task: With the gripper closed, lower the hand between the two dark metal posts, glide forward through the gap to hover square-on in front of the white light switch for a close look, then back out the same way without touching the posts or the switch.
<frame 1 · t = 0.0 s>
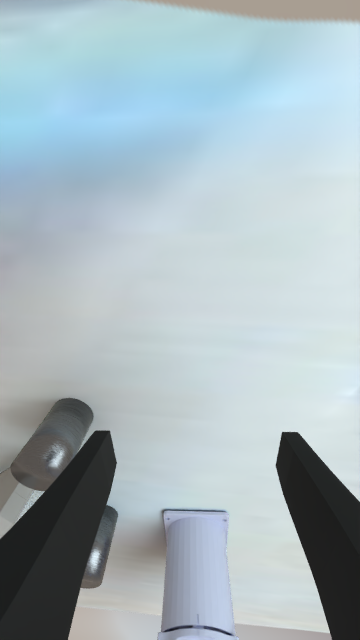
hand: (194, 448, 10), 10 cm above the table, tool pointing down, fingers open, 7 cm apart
post 2: (102, 513, 30), on the table
light switch: (15, 466, 27), on the table
post 1: (73, 413, 23), on the table
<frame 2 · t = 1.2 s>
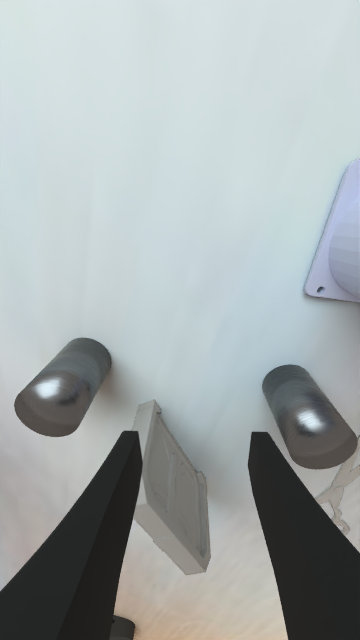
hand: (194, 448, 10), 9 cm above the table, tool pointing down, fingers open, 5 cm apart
post 2: (286, 384, 20), on the table
light switch: (175, 442, 24), on the table
post 1: (87, 358, 20), on the table
scissors: (332, 484, 26), on the table
media streaming box: (92, 620, 44), on the table
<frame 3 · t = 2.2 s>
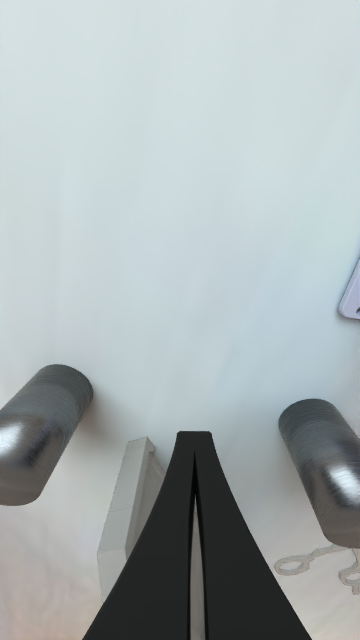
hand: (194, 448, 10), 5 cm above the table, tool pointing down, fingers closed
post 2: (308, 421, 16), on the table
light switch: (171, 482, 20), on the table
post 1: (63, 388, 16), on the table
scissors: (355, 528, 22), on the table
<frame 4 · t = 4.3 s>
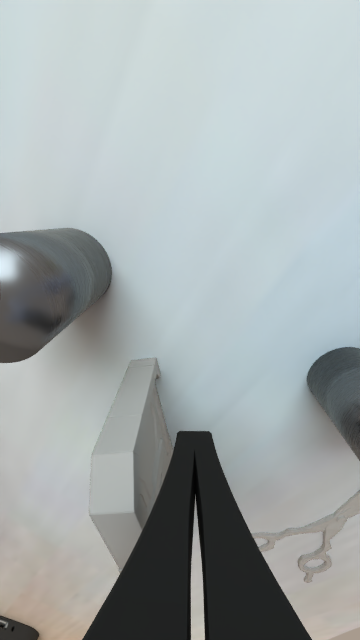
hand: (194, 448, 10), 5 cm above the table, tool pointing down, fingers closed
post 2: (340, 375, 15), on the table
light switch: (163, 424, 17), on the table
post 1: (74, 267, 12), on the table
scissors: (331, 512, 21), on the table
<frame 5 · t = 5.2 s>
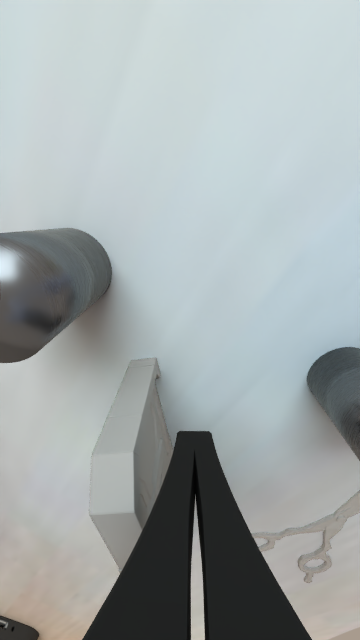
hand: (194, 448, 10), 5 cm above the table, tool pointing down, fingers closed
post 2: (340, 375, 15), on the table
light switch: (163, 424, 17), on the table
post 1: (74, 267, 12), on the table
scissors: (331, 512, 21), on the table
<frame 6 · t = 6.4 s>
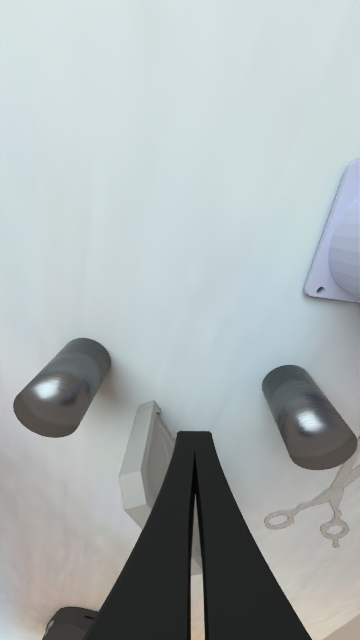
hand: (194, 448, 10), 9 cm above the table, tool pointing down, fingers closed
post 2: (286, 384, 20), on the table
light switch: (174, 443, 24), on the table
post 1: (87, 359, 20), on the table
scissors: (332, 485, 26), on the table
media streaming box: (91, 621, 44), on the table
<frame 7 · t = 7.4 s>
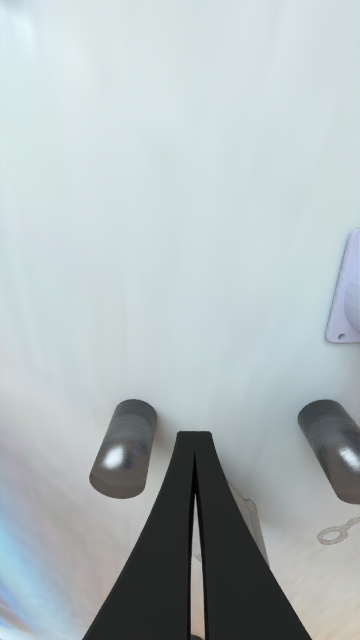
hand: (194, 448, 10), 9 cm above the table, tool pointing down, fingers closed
post 2: (320, 416, 21), on the table
light switch: (222, 476, 25), on the table
post 1: (135, 415, 22), on the table
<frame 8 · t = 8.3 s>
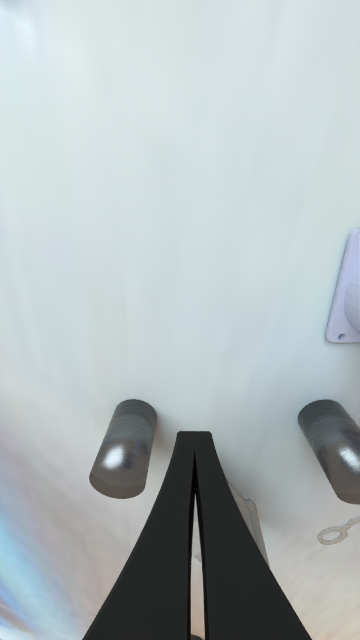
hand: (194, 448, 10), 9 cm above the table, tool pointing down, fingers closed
post 2: (320, 416, 21), on the table
light switch: (222, 476, 25), on the table
post 1: (135, 415, 22), on the table
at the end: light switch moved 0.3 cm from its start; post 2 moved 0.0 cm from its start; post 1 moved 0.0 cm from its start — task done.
